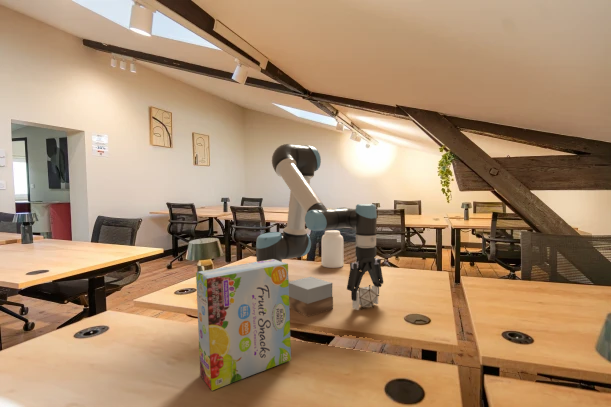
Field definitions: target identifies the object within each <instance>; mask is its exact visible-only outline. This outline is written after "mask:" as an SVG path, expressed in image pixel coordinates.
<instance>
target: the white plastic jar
mask: <svg viewBox="0 0 611 407" xmlns="http://www.w3.org/2000/svg"><path fill="white" fill-rule="evenodd" d="M321 266H322V267H324V268H330V269H336V268H337V269H338V268H342V267H343V266H344V236H343V235H341V231H340V230H337V229H327V230H324V234H323V235H322V236H321Z"/></svg>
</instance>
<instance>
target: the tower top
mask: <svg viewBox="0 0 611 407" xmlns="http://www.w3.org/2000/svg"><path fill="white" fill-rule="evenodd" d="M289 297H292V298H294V299H297V300H299V301H302V302H304V303H307V304H309V303H312V302H315V301H319V300H322V299H325V298H329V297H333V282H331V281H327V280H324V279H320V278H316V277H314V276H308V277H303V278H299V279H295V280H289Z"/></svg>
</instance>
